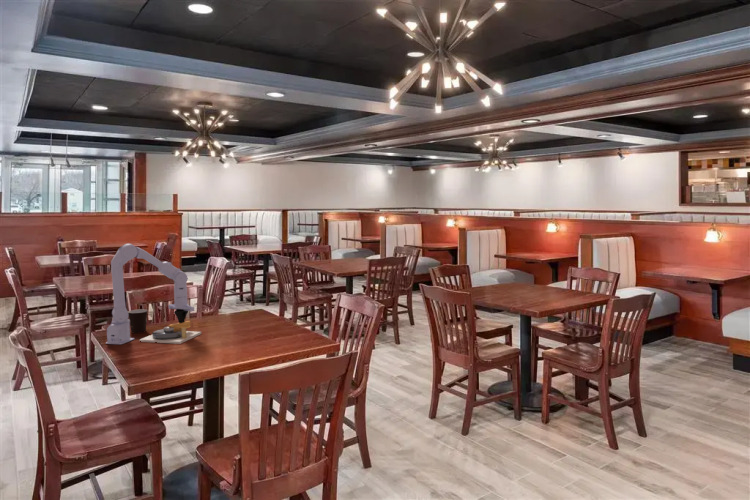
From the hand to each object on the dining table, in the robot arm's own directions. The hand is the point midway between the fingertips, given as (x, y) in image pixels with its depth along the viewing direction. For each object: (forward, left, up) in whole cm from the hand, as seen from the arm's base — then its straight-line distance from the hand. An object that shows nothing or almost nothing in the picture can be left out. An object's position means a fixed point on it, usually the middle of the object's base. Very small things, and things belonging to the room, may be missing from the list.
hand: (181, 325), depth 251 cm
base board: (-7, +1, -4) cm, 8 cm away
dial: (-6, +1, -3) cm, 7 cm away
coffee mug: (+2, +24, -5) cm, 24 cm away
